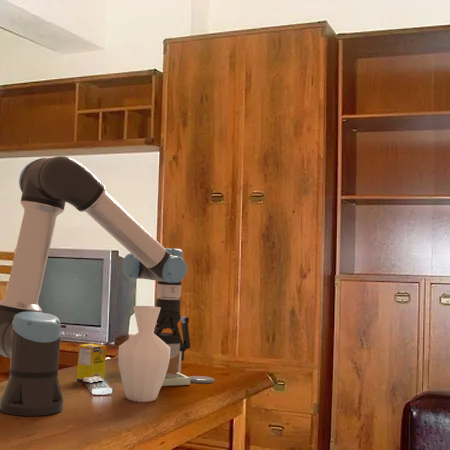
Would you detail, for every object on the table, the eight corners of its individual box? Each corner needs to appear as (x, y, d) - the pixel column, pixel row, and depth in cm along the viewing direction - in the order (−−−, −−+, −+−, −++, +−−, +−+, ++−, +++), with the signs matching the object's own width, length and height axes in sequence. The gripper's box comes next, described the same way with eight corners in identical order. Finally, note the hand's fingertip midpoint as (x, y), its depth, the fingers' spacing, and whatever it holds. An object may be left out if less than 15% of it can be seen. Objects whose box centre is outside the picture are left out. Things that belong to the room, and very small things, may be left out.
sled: (150, 386, 206) (152, 345, 206) (122, 370, 228) (124, 334, 228) (189, 384, 212) (192, 345, 212) (159, 369, 234) (161, 333, 234)
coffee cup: (174, 387, 208) (178, 337, 208) (147, 384, 209) (151, 334, 210) (181, 382, 216) (184, 334, 217) (155, 379, 217) (158, 331, 218)
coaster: (193, 384, 214) (193, 382, 214) (181, 378, 222) (181, 376, 222) (219, 382, 219) (219, 380, 219) (206, 377, 227) (206, 375, 227)
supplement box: (104, 381, 211) (106, 345, 211) (90, 384, 206) (93, 347, 206) (90, 378, 214) (92, 342, 214) (76, 381, 209) (78, 344, 209)
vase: (155, 406, 182) (161, 311, 183) (106, 400, 186) (112, 306, 187) (175, 396, 196) (180, 307, 197) (129, 390, 200) (134, 303, 201)
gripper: (140, 298, 206) (136, 375, 205) (204, 299, 216) (200, 373, 215) (132, 296, 213) (127, 371, 212) (194, 297, 223) (190, 368, 222)
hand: (164, 372), depth 214 cm, fingers closed on coffee cup, 8 cm apart
